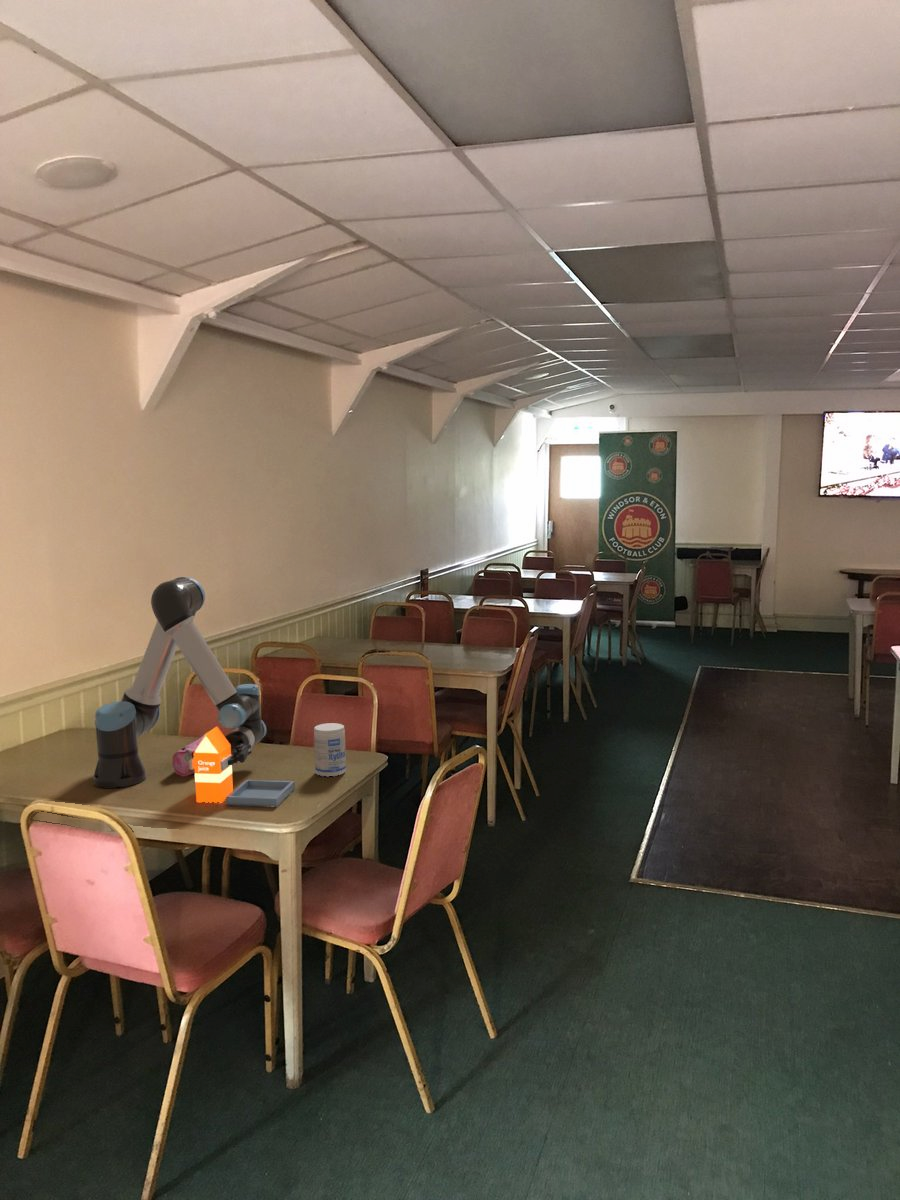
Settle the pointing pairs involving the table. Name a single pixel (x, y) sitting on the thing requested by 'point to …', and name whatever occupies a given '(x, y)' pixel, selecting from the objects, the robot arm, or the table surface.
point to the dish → (260, 793)
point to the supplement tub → (329, 749)
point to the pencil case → (185, 758)
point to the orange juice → (212, 768)
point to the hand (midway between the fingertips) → (206, 765)
